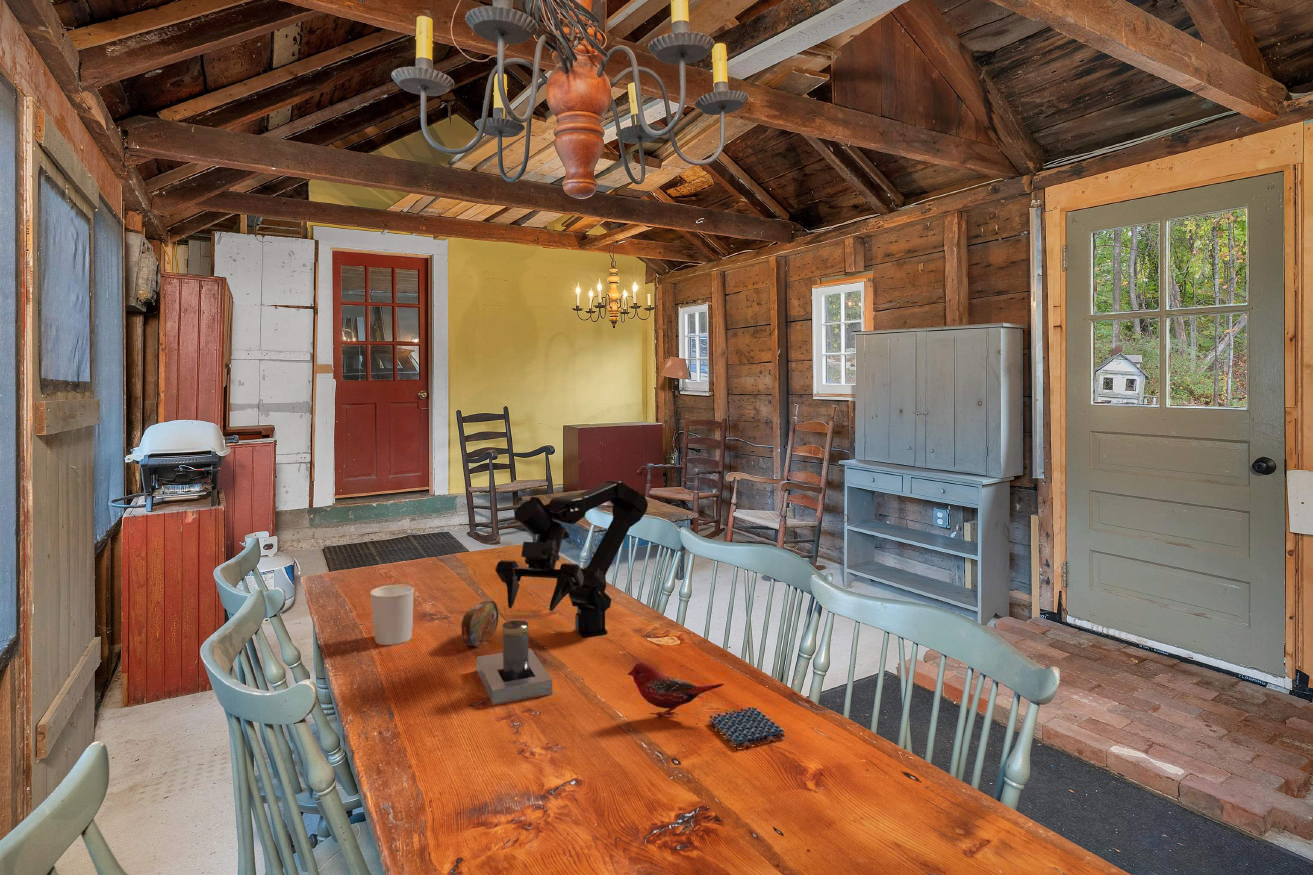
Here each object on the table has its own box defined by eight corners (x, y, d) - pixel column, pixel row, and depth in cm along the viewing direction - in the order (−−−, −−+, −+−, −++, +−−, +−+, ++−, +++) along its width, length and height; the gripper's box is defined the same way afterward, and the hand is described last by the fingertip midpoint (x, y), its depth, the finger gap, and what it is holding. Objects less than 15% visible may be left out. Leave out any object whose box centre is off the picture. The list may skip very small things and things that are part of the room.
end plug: (525, 680, 140) (525, 618, 139) (531, 690, 136) (530, 626, 135) (501, 684, 138) (499, 622, 137) (506, 695, 133) (505, 630, 133)
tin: (471, 652, 156) (471, 616, 155) (459, 651, 156) (458, 615, 156) (499, 629, 170) (499, 596, 170) (488, 628, 171) (487, 595, 170)
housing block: (530, 661, 150) (530, 648, 150) (552, 693, 134) (552, 679, 134) (476, 670, 145) (476, 656, 145) (492, 705, 129) (492, 690, 129)
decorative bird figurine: (627, 711, 126) (627, 659, 126) (723, 712, 126) (723, 660, 125) (626, 719, 124) (626, 665, 123) (724, 720, 123) (724, 666, 122)
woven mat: (735, 754, 112) (735, 743, 112) (705, 726, 122) (705, 715, 122) (788, 741, 117) (788, 730, 116) (755, 714, 126) (755, 704, 126)
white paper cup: (423, 634, 167) (422, 586, 166) (396, 648, 157) (394, 598, 157) (391, 629, 170) (389, 582, 169) (362, 643, 161) (360, 593, 160)
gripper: (498, 524, 150) (476, 587, 140) (579, 527, 146) (563, 592, 136) (512, 551, 158) (493, 612, 148) (590, 554, 154) (575, 618, 144)
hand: (530, 608), depth 144 cm, fingers open, 9 cm apart
